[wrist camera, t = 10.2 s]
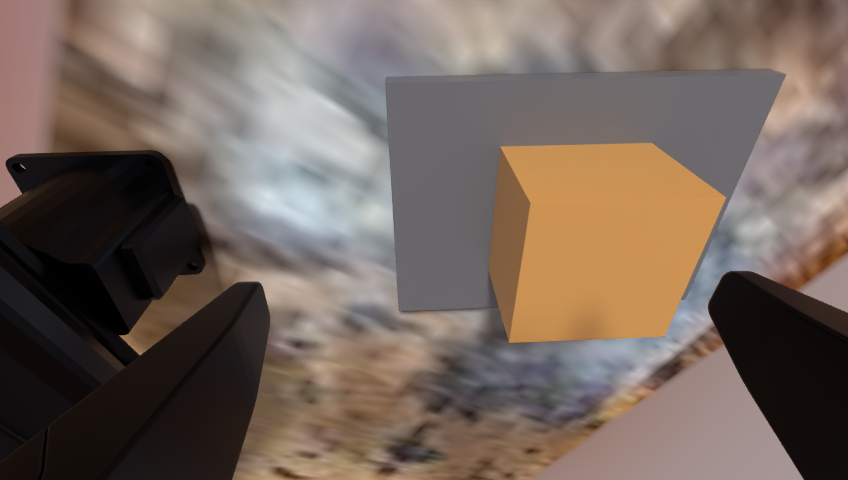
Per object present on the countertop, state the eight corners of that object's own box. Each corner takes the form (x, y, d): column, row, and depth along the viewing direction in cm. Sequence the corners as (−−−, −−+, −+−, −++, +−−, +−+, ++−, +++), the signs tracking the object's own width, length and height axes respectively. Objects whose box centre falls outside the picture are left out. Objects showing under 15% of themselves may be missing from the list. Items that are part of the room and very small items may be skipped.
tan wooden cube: (487, 268, 22) (508, 342, 17) (500, 146, 18) (530, 203, 14) (614, 264, 22) (664, 336, 18) (651, 143, 18) (726, 197, 14)
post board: (398, 298, 24) (398, 354, 20) (386, 77, 17) (382, 105, 14) (675, 288, 24) (719, 340, 21) (768, 68, 18) (853, 94, 14)
